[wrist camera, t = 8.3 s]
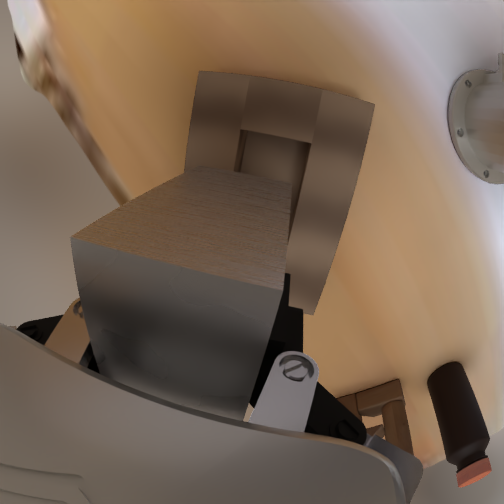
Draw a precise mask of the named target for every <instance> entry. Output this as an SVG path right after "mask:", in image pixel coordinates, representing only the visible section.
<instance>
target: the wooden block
mask: <svg viewBox="0 0 504 504" xmlns="http://www.w3.org/2000/svg"><path fill="white" fill-rule="evenodd" d="M337 400H338V401H339V402H340V403H342V404H343V405H344V406H345V407H346V408H347V409H348V410H349V411H351V412H352V413H353V414H354V415H355V416H356V417H357V418H358V419H360V420H361V422H362V416H369V417H375V416H378V415H382V417H383V424H384V427H383V424H381V425H378V426H374V427H371V428H367V429H366V430H367V434H369V435H371V436H373V435H374V434H375V435H377V436H379V437H381V438H383V437H384V435H385V439H386V441H388V442H389V443H391V444H393V445H395V446H397V447H398V448H400V449H402V450H404V451H406V452H408V453H409V454H411V455H413V456H414V453H413V447H412V441H411V435H410V430H409V425H408V420H407V415H406V410H405V400H404V396H403V392H402V388H401V384H400V380H399V379H397V380H395V381H392V382H389V383H386V384H383V385H381V386H378V387H375V388H372V389H369V390H365V391H362V392H359V393H357V394H352V395H348V396H345V397H341V398H338V399H337Z"/></svg>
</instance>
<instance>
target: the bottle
mask: <svg viewBox="0 0 504 504" xmlns="http://www.w3.org/2000/svg"><path fill="white" fill-rule="evenodd" d="M428 389H429V393H430V396H431V399H432V403H433V406H434V410H435V413H436V417H437V421H438V425H439V428H440V432H441V437H442V441H443V445H444V450H445V454H446V459H447V461H448V462H449V463H451V464H454V465H456V466H457V469H458V470H457V475H456V476H457V481H458V487H464V486H467V485H469V484H472V483H474V482H476V481H478V480H479V479H481V478H483V477H485V476H486V475H488V474H489V473H490V472H491V465H490V462H489V458H488V456H487V455H485V449H486V447H487V445H488V443H489V440H490V437H489V434H488V431H487V428H486V425H485V422H484V419H483V416H482V413H481V410H480V408H479V405H478V402H477V400H476V397H475V395H474V392H473V390H472V387H471V385H470V382H469V380H468V378H467V375H466V373H465V371H464V368H463V366H462V365H461V364H459V363H449V364H446V365H444V366H442V367H441V368H439V369H437V370H436V371H435V372H434V373H433V374H432V375H431V377H430V378H429V380H428Z"/></svg>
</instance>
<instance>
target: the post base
mask: <svg viewBox="0 0 504 504" xmlns="http://www.w3.org/2000/svg"><path fill="white" fill-rule="evenodd" d="M374 107H375V104H373V103H370V102H367V101H364V100H360V99H357V98H354V97H350V96H347V95H343V94H340V93H336V92H332V91H328V90H324V89H320V88H316V87H312V86H307V85H303V84H298V83H293V82H288V81H282V80H276V79H270V78H264V77H257V76H250V75H242V74H233V73H223V72H210V71H199V74H198V79H197V85H196V91H195V97H194V103H193V109H192V116H191V122H190V129H189V136H188V144H187V152H186V160H185V169H184V173H185V172H187V171H189V170H191V169H193V168H195V167H197V166H206V167H212V168H217V169H223V170H229V171H234V172H240V173H245V174H250V175H255V176H260V177H265V178H270V179H274V180H279V181H284V182H288V183H292V193H291V207H290V220H289V232H288V244H287V255H286V266H285V273H289V274H291V277H290V293H289V306H291V307H296V308H301V309H303V313H304V314H309V315H314V312H315V309H316V307H317V304H318V301H319V299H320V296H321V293H322V290H323V288H324V285H325V282H326V279H327V276H328V273H329V270H330V268H331V265H332V262H333V259H334V256H335V253H336V250H337V247H338V243H339V240H340V237H341V234H342V231H343V228H344V224H345V221H346V218H347V214H348V211H349V208H350V204H351V201H352V197H353V194H354V190H355V186H356V183H357V179H358V175H359V171H360V168H361V164H362V160H363V156H364V152H365V147H366V143H367V139H368V135H369V130H370V126H371V121H372V117H373V112H374Z"/></svg>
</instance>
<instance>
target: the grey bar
mask: <svg viewBox="0 0 504 504" xmlns="http://www.w3.org/2000/svg"><path fill="white" fill-rule="evenodd" d="M291 193H292V183H288V182H284V181H279V180H274V179H270V178H265V177H260V176H255V175H250V174H245V173H240V172H234V171H229V170H223V169H217V168H212V167H206V166H197V167H195V168H193V169H191V170H189V171H187V172H185V173H183V174H181V175H179V176H177V177H175V178H173V179H171V180H169V181H167V182H165V183H163V184H161V185H159V186H157V187H155V188H153V189H151V190H149V191H147V192H146V193H144V194H142V195H140V196H138V197H136V198H134V199H133V200H131V201H129V202H127V203H125V204H124V205H122V206H120V207H118V208H117V209H115V210H113V211H112V212H110V213H108V214H106V215H105V216H103V217H101V218H100V219H98V220H96V221H95V222H93V223H92V224H90V225H88V226H87V227H85V228H84V229H82V230H80V231H79V232H77V233H76V234H74V235H72V236H71V237H70V238H71V247H72V255H73V262H74V268H75V274H76V280H77V286H78V291H79V296H80V301H81V306H82V310H83V315H84V319H85V323H86V327H87V331H88V335H89V338H90V342H91V346H92V349H93V353H94V356H95V359H96V362H97V366H98V369H99V372H100V374H101V375H103V376H105V377H108V378H110V379H112V380H115V381H117V382H119V383H122V384H124V385H127V386H129V387H132V388H134V389H137V390H139V391H142V392H145V393H147V394H150V395H153V396H156V397H159V398H162V399H164V400H167V401H170V402H174V403H177V404H180V405H183V406H186V407H190V408H193V409H196V410H200V411H203V412H207V413H211V414H215V415H218V416H222V417H227V418H231V419H235V420H240V421H243V419H244V416H245V413H246V409H247V407H248V403H249V401H250V398H251V395H252V392H253V389H254V385H255V382H256V379H257V376H258V373H259V370H260V367H261V363H262V360H263V357H264V354H265V351H266V347H267V344H268V341H269V337H270V334H271V331H272V327H273V324H274V321H275V317H276V314H277V310H278V307H279V303H280V300H281V296H282V293H283V287H284V276H285V266H286V255H287V244H288V232H289V220H290V207H291Z"/></svg>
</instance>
